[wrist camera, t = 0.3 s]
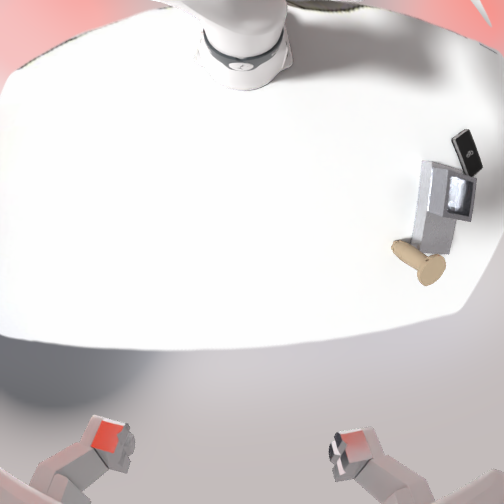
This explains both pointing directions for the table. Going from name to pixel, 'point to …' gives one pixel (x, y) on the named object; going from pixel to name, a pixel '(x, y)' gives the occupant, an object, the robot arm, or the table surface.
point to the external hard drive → (467, 153)
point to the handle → (420, 262)
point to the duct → (441, 206)
